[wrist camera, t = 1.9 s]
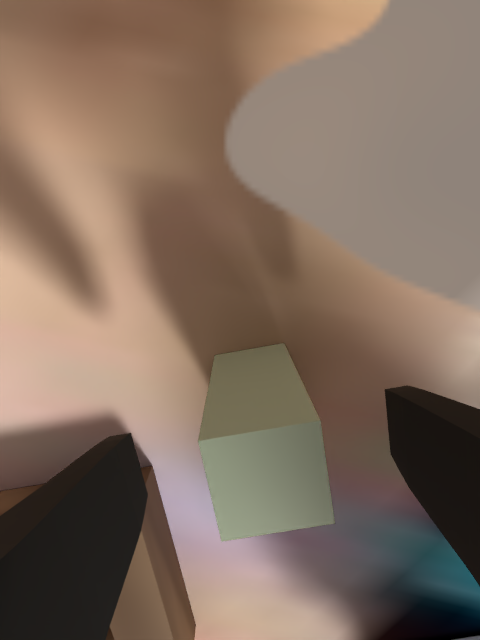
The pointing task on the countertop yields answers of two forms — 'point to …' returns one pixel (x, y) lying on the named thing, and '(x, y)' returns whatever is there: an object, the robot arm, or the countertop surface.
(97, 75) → the countertop surface
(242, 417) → the sage peg
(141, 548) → the brown square frame
